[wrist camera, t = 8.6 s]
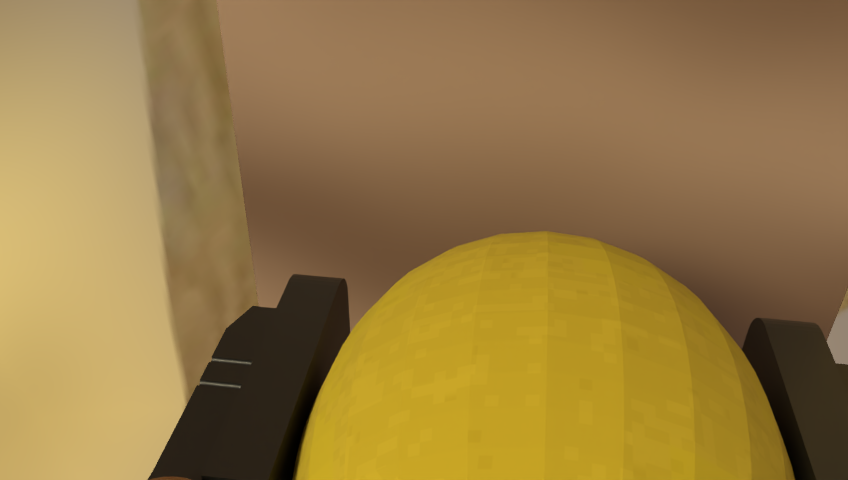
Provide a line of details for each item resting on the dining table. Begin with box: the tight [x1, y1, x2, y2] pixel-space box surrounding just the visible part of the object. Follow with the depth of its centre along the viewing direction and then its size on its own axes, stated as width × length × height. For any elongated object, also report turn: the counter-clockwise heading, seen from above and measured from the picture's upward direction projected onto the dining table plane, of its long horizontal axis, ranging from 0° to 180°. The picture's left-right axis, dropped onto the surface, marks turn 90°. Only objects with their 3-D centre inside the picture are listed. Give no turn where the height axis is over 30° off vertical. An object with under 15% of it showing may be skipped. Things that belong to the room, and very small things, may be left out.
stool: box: [216, 0, 848, 350], centre depth 16 cm, size 10×10×8 cm
